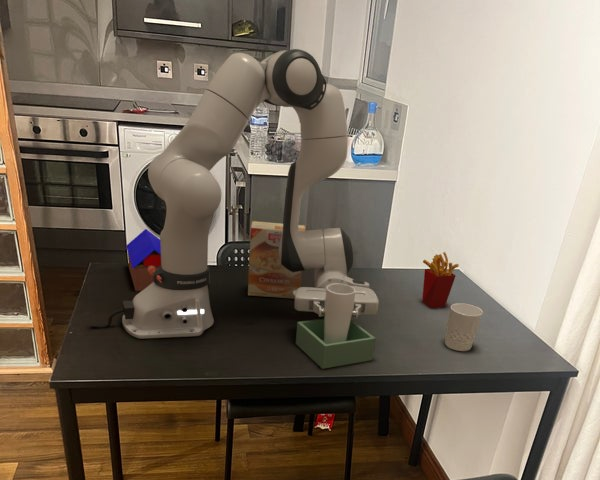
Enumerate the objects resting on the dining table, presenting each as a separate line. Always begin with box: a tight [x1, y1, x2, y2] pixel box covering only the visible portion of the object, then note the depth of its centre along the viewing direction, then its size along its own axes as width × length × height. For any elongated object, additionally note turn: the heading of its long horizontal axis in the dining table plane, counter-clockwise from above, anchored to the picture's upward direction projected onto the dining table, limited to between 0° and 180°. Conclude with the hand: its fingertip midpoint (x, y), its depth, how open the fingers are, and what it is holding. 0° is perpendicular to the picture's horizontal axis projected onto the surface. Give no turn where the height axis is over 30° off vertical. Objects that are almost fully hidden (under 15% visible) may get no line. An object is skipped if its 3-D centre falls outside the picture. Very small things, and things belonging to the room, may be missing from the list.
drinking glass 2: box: [323, 284, 355, 344], centre depth 140 cm, size 7×7×15 cm
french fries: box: [421, 251, 460, 309], centre depth 173 cm, size 9×8×15 cm
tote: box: [295, 318, 377, 370], centre depth 143 cm, size 14×14×6 cm
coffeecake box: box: [247, 220, 306, 300], centre depth 169 cm, size 15×7×20 cm, turn 91°
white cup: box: [444, 302, 484, 352], centre depth 151 cm, size 8×8×10 cm
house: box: [125, 228, 161, 292], centre depth 173 cm, size 12×20×12 cm, turn 19°
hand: (338, 314), depth 138 cm, fingers closed on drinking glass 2, 6 cm apart
